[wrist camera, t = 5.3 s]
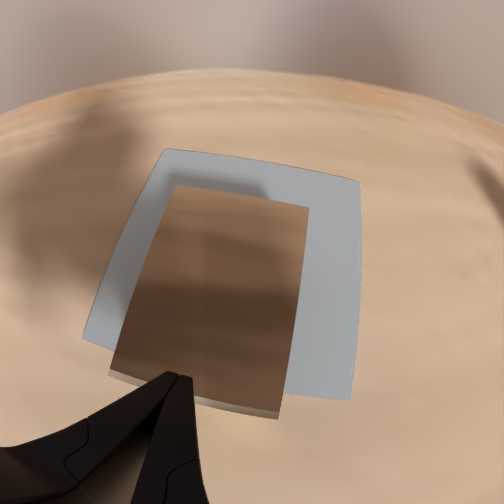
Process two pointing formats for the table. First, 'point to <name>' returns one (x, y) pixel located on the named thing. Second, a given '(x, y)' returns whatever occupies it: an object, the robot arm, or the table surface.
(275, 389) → the walnut block
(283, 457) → the table surface
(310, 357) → the slate board
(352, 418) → the table surface
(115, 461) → the robot arm
